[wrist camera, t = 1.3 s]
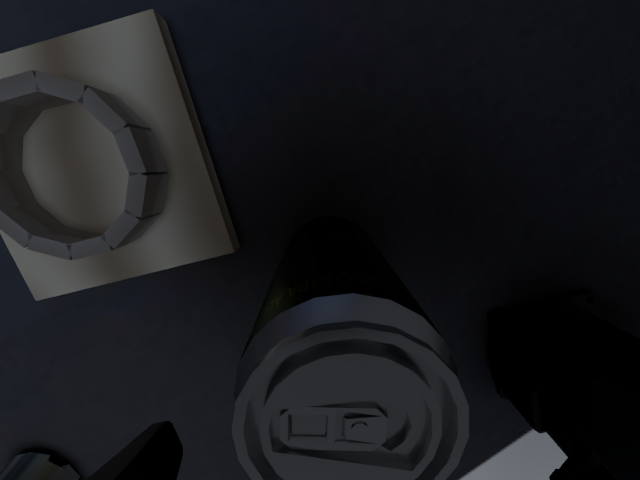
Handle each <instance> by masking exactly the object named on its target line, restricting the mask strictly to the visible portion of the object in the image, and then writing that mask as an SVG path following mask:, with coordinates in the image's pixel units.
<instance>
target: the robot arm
mask: <svg viewBox="0 0 640 480" xmlns="http://www.w3.org/2000/svg"><path fill="white" fill-rule="evenodd" d="M588 297H589V298H588ZM587 298H588V299H587ZM499 316H500V318H499V319H498V320H496V318H497V317H499ZM488 325H489V333H490V341H491V344H490V345H489V348H488V349H489V357H490V365H491V373H492V379H493V380H494V382H495V383H496V390H497V393H498V394H499V395H500V396H501V397H502V398H503V399H509V400H510V401H511V402H512V404H513V405H514V406H515V407H516V408H517V410H518V411H519V412H520V413H521V415H522V416H523V417H524V418H525V419H526V421H527V422H528V423H529V424H530V426H531V427H532V428H533V429H534V430H535V431H537V432H539V433H544V432H547V433H548V435H549V436H550V437H551V438H552V439H553V440H554V442H555V443H556V444H557V445H558V446H559V447H560V449H561V450H562V451H563V452H564V453H565V454H566V456H567V457H568V458H567V460H566V461H565V462H564V463H563V464H562V466H561V467H560V468H559V469H555V470H554V472H553V473H552V474H551V475H550V477H549V478H550V480H640V339H638V338H636V337H635V336H633V335H631V334H629V333H627V332H625V331H623V330H622V329H620V328H618V327H616V326H614V325H612V324H610V323H609V322H607V321H605V320H603V319H601V318H599V296H598V295H597V294H596V293H594V292H592V291H590V290H582V291H577V292H573V293H568V294H564V295H559V296H555V297H550V298H546V299H541V300H537V301H532V302H528V303H523V304H519V305H514V306H510V307H505V308H501V309H496V310H493V311H491V312H490V313H489V315H488ZM182 456H183V447H182V444H181V442H180V439H179V437H178V435H177V433H176V431H175V428H174V426H173V424H172V423H171V422H170V421H164V422H160V423H155V424H153V425H151V426H150V427H148V428H147V429H146V430H145V431H144V432H142V433H141V434H140V435H139V436H138V437H137V438H135V439H134V440H133V441H132V442H131V443H129V444H128V445H127V446H126V447H125V448H124V449H122V450H121V451H120V452H119V453H118V454H116V455H115V456H114V457H113V458H112V459H111V460H109V461H108V462H107V463H106V464H105V465H103V466H102V467H101V468H100V469H99V470H97V471H96V472H95V473H94V474H93V475H92V476H90V477H89V478H88V479H87V480H176V479H177V475H178V472H179V468H180V464H181V460H182Z"/></svg>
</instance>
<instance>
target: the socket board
mask: <svg viewBox="0 0 640 480" xmlns="http://www.w3.org/2000/svg"><path fill="white" fill-rule="evenodd" d="M0 234H1V236H2V238H3V240H4V242H5V244H6V245H7V247H8V249H9V251H10V253H11V255H12V257H13V259H14V261H15V262H16V264H17V266H18V268H19V270H20V272H21V274H22V276H23V278H24V279H25V281H26V283H27V285H28V287H29V289H30V291H31V293H32V295H33V296H34V298H35V300H36V301H38V300H42V299H46V298H50V297H54V296H58V295H62V294H67V293H71V292H75V291H79V290H83V289H87V288H91V287H95V286H99V285H103V284H107V283H111V282H115V281H120V280H124V279H128V278H132V277H136V276H140V275H144V274H148V273H152V272H156V271H160V270H164V269H169V268H173V267H177V266H181V265H185V264H189V263H193V262H197V261H201V260H205V259H209V258H213V257H217V256H222V255H226V254H230V253H234V252H235V251H236V250H237V249H238V248H239V247H240V245H239V242H238V239H237V236H236V233H235V230H234V227H233V224H232V221H231V218H230V215H229V212H228V209H227V206H226V203H225V200H224V197H223V193H222V190H221V187H220V184H219V181H218V178H217V175H216V172H215V169H214V166H213V163H212V160H211V157H210V154H209V151H208V148H207V145H206V142H205V139H204V136H203V133H202V129H201V126H200V123H199V120H198V117H197V114H196V111H195V108H194V105H193V102H192V99H191V96H190V93H189V90H188V87H187V84H186V81H185V78H184V75H183V72H182V69H181V65H180V62H179V59H178V56H177V53H176V50H175V47H174V44H173V41H172V38H171V35H170V32H169V29H168V26H167V23H166V21H165V20H164V19H163V18H162V17H161V16H160V15H159V14H158V13H157V12H156V11H155V10H154V9H151V10H147V11H144V12H140V13H137V14H134V15H130V16H127V17H123V18H120V19H117V20H113V21H110V22H107V23H103V24H100V25H96V26H93V27H90V28H86V29H83V30H80V31H76V32H73V33H69V34H66V35H63V36H59V37H56V38H53V39H49V40H46V41H42V42H39V43H36V44H32V45H29V46H26V47H22V48H19V49H15V50H12V51H9V52H5V53H2V54H0Z"/></svg>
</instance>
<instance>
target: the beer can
mask: <svg viewBox="0 0 640 480" xmlns="http://www.w3.org/2000/svg"><path fill="white" fill-rule="evenodd" d="M234 397H235V401H236V405H235V411H234V418H233V425H232V435H233V439H234V444H235V448H236V452H237V456H238V460H239V462H240V463H241V465H242V466H243V468H244V469H245V471H246V472H247V474H248V475H249V476H250V478H251V479H252V480H446V478H447V477H448V476H449V475H450V474H451V473H452V471H453V470H454V469H455V468H456V467H457V465H458V463H459V461H460V458H461V456H462V453H463V451H464V448H465V445H466V443H467V440H468V438H469V405H468V403H467V400H466V398H465V395H464V393H463V391H462V388H461V386H460V383H459V381H458V378H457V368H456V365H455V363H454V360H453V358H452V356H451V353H450V351H449V348H448V346H447V343H446V341H445V340H444V338H443V337H442V335H441V334H440V333H439V331H438V330H437V329H436V327H435V326H434V324H433V323H432V322H431V320H430V319H429V318H428V316H427V315H426V313H425V312H424V311H423V309H422V308H421V307H420V305H419V304H418V303H417V301H416V300H415V298H414V297H413V296H412V294H411V293H410V292H409V290H408V289H407V287H406V286H405V285H404V283H403V282H402V281H401V279H400V278H399V276H398V275H397V274H396V272H395V271H394V270H393V268H392V267H391V265H390V264H389V263H388V261H387V260H386V259H385V257H384V256H383V254H382V253H381V252H380V250H379V249H378V248H377V246H376V245H375V243H374V242H373V241H372V239H371V238H370V237H369V235H368V234H367V233H366V232H365V231H364V230H363V229H362V228H361V227H360V226H359V225H357V224H355V223H353V222H352V221H350V220H348V219H345V218H340V217H335V216H328V217H320V218H315V219H313V220H311V221H309V222H307V223H305V224H303V225H302V226H301V227H300V228H299V229H298V230H297V231H295V232H294V233H293V234H292V236H291V238H290V240H289V242H288V243H287V245H286V247H285V250H284V252H283V255H282V257H281V260H280V262H279V265H278V267H277V270H276V272H275V275H274V277H273V279H272V282H271V284H270V287H269V289H268V292H267V294H266V297H265V299H264V302H263V304H262V307H261V309H260V312H259V314H258V317H257V319H256V322H255V324H254V327H253V329H252V331H251V334H250V336H249V339H248V341H247V344H246V346H245V349H244V351H243V354H242V356H241V359H240V361H239V364H238V370H237V376H236V383H235V390H234Z"/></svg>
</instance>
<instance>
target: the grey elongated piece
mask: <svg viewBox="0 0 640 480" xmlns="http://www.w3.org/2000/svg"><path fill="white" fill-rule="evenodd" d="M49 459H50V455H46V454H40V453H33V452H28V453H24V454H20V455H16V456H14V457H13V458H12V460H11V461H10V462H9V463H8V464H7V465H6V466H5V468H4V469H3V470H2V471H1V472H0V480H78V479H79V477H80V476H79V475H78V474H77V473H76V472H75V471H74V469H73V468H72V467H71V466H70V465H69V464H68V465H64V466H62V467H59V466H57V465H55V464H53V463H51V462H49Z"/></svg>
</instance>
